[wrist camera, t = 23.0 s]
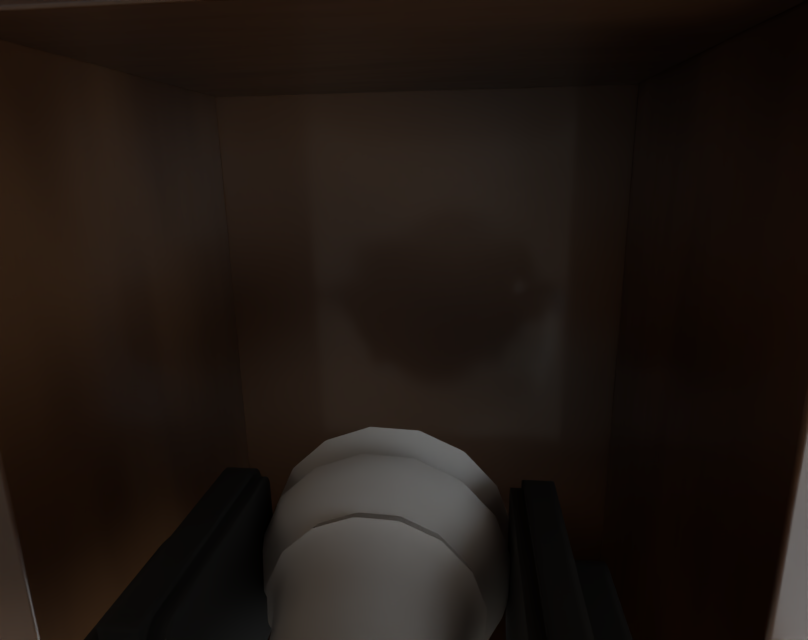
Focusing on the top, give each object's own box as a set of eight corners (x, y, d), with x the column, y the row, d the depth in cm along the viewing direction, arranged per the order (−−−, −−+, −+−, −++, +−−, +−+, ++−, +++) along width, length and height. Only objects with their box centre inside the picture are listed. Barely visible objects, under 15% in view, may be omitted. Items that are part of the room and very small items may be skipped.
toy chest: (617, 573, 19) (761, 974, 10) (245, 550, 20) (51, 880, 11) (664, 54, 15) (987, -132, 6) (198, 71, 16) (-169, -54, 7)
